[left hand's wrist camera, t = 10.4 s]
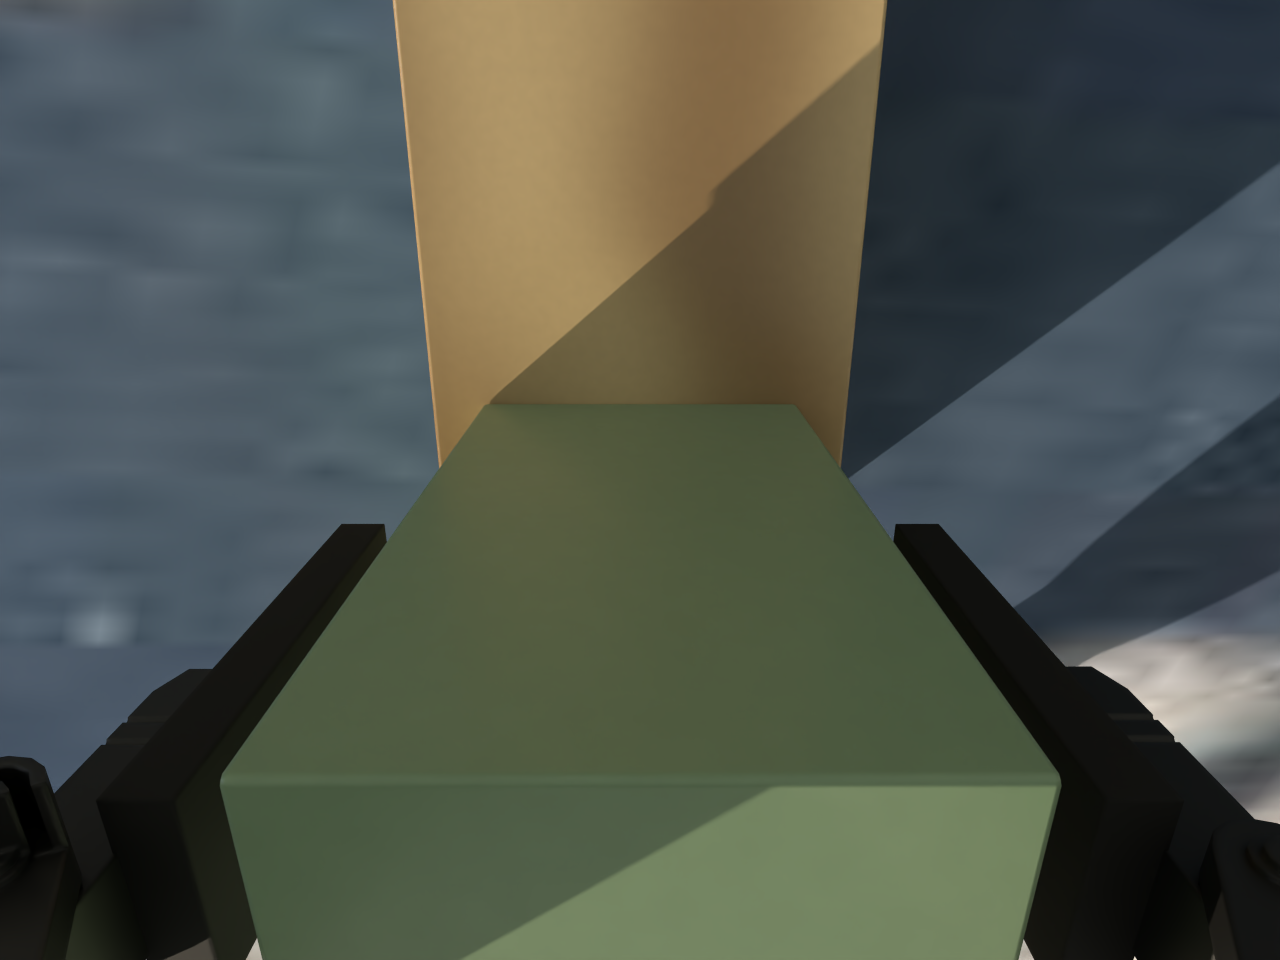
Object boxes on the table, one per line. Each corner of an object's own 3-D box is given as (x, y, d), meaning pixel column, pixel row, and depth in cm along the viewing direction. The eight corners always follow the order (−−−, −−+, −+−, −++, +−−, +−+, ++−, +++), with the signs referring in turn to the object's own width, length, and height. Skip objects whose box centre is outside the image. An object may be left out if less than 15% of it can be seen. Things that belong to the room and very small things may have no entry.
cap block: (503, 667, 17) (333, 1265, 8) (483, 403, 15) (211, 779, 5) (776, 667, 17) (947, 1265, 8) (796, 402, 15) (1069, 778, 5)
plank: (526, 549, 27) (465, 741, 18) (450, -732, 16) (193, -1985, 7) (753, 549, 27) (814, 741, 18) (829, -732, 16) (1087, -1981, 7)
